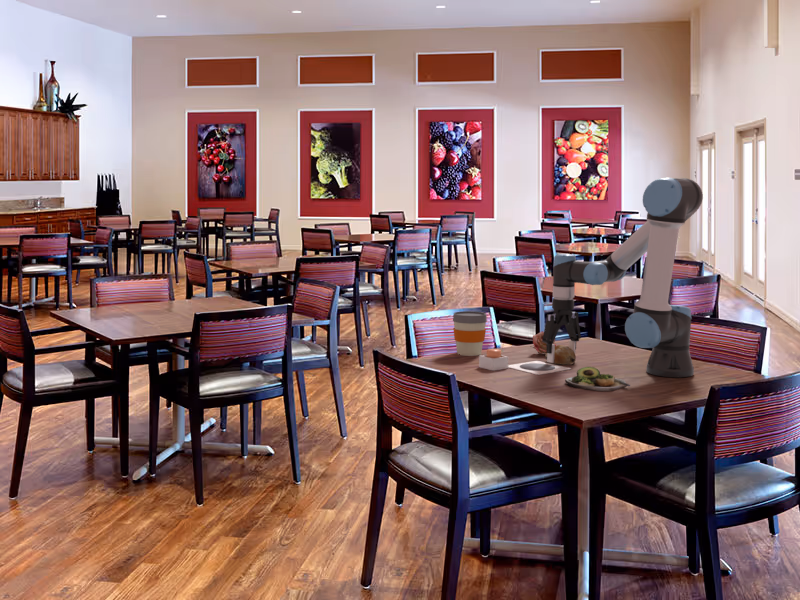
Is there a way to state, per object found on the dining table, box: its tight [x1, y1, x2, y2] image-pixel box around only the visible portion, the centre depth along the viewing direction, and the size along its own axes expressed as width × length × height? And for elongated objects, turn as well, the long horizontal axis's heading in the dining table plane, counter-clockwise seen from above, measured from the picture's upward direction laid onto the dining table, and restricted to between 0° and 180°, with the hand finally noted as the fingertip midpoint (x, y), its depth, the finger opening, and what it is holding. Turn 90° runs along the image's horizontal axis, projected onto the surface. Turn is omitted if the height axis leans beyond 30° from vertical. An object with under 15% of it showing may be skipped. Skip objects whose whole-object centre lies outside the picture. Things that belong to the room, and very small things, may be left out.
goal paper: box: [507, 360, 572, 376], centre depth 294 cm, size 16×16×1 cm
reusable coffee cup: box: [452, 310, 488, 357], centre depth 319 cm, size 13×13×15 cm
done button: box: [485, 348, 502, 358], centre depth 294 cm, size 5×5×3 cm
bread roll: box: [544, 344, 577, 366], centre depth 304 cm, size 10×10×8 cm
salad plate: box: [564, 366, 631, 392], centre depth 269 cm, size 19×18×5 cm
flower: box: [529, 331, 557, 355], centre depth 319 cm, size 10×9×8 cm
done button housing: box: [478, 354, 509, 371], centre depth 294 cm, size 7×7×4 cm
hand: (561, 360), depth 304 cm, fingers closed on bread roll, 10 cm apart
